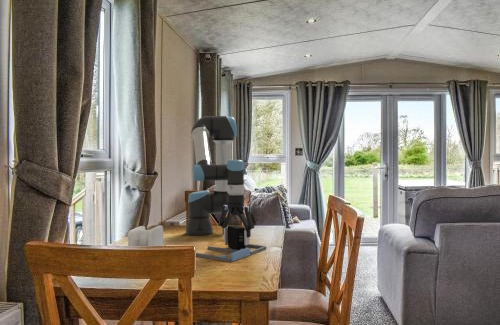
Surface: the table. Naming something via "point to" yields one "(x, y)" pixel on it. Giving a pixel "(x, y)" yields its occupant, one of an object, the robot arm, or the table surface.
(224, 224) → the robot arm
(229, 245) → the electronic device
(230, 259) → the grey flat frame
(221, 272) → the table surface
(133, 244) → the cable organizer
